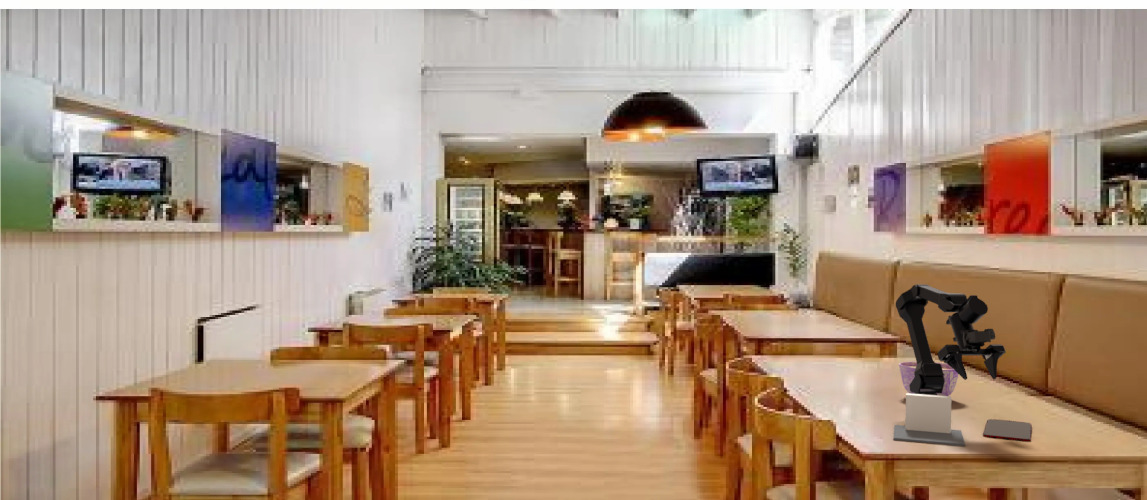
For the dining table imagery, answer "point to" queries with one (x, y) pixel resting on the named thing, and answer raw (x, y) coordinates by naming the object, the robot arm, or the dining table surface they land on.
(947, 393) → the lavender translucent bowl
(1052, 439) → the dining table surface
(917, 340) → the robot arm
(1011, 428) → the smartphone
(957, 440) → the charcoal mat
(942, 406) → the cream and orange slab
